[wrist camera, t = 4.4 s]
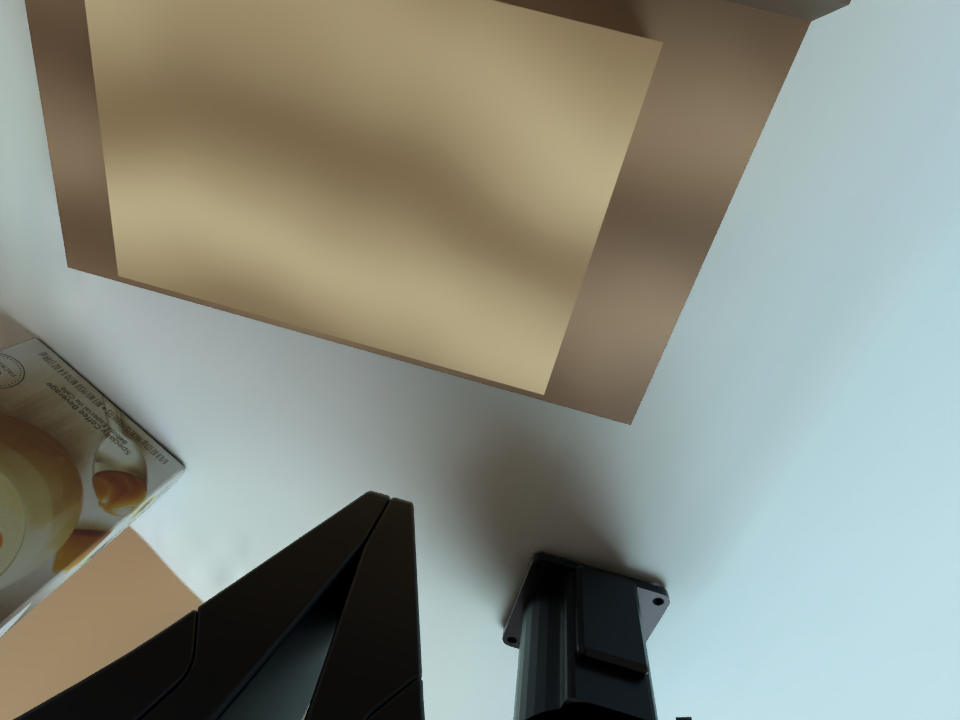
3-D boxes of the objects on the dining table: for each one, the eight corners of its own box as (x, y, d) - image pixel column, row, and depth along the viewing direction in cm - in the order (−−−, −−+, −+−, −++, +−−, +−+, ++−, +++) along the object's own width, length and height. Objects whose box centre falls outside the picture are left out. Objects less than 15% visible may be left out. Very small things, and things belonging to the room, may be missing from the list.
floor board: (625, 404, 19) (637, 454, 16) (101, 258, 20) (20, 280, 17) (848, -111, 12) (939, -189, 9) (30, -300, 13) (-128, -428, 10)
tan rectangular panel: (545, 374, 17) (543, 395, 16) (151, 264, 18) (118, 275, 17) (653, 51, 13) (663, 42, 11) (121, -81, 13) (71, -105, 12)
